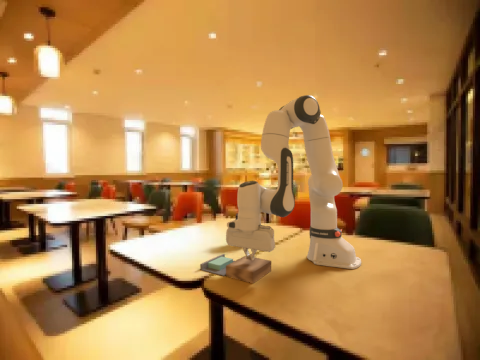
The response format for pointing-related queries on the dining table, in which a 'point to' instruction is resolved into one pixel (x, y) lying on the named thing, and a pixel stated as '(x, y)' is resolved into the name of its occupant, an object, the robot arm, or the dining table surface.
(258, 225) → the robot arm
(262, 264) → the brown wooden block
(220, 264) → the pale green rectangular block
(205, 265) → the tray
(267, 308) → the dining table surface
